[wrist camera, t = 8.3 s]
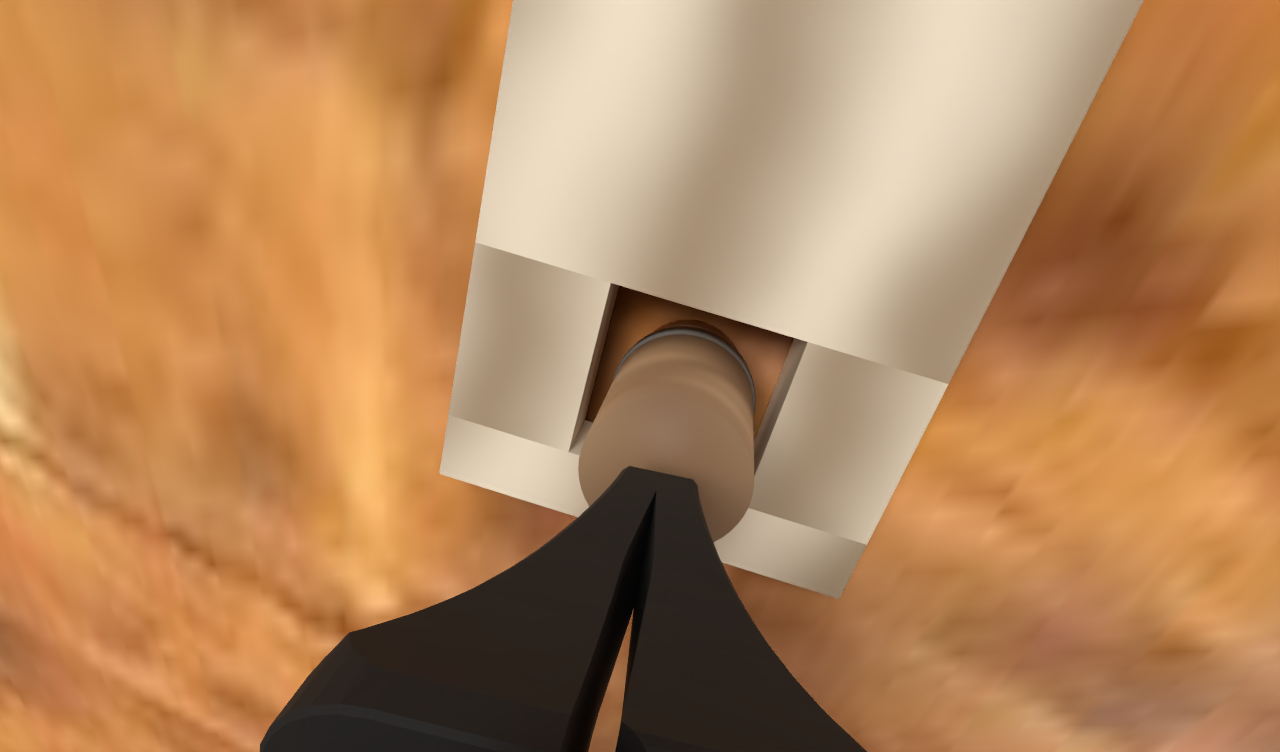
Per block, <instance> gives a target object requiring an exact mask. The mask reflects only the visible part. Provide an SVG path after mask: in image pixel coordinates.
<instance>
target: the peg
mask: <svg viewBox="0 0 1280 752" xmlns="http://www.w3.org/2000/svg"><path fill="white" fill-rule="evenodd" d="M754 408H755V391H754V384H753V380H752V376H751V374H750V371H749V369H748V367H747V364H746V363H745V361H744V359H743V357H742V356H741V355H740V353H739V352H738V351H737V349H736V347H735V345H734V344H733V342H732V341H731V340H730V339H729V337H728V336H727V335H726V334H725V333H723V332H722V331H721V330H719V329H718V328H716V327H714V326H713V325H710V324H708V323H705V322H701V321H696V320H679V321H674V322H670V323H668V324H665V325H663V326H661V327H660V328H658V329H657V330H655V331H654V332H653V333H651V334H649V335H647V336H645V337H644V338H643V339H641V340H640V341H638V342H637V343H636V344H635V345H634V346H633V347H632V348H631V349H630V350H629V351H628V352H627V353H626V355H625V356H624V357H623V359H622V361H621V362H620V364H619V366H618V368H617V370H616V373H615V375H614V378H613V382H612V385H611V387H610V389H609V391H608V393H607V395H606V397H605V399H604V401H603V403H602V406H601V408H600V410H599V412H598V414H597V416H596V418H595V420H594V422H593V424H592V426H591V428H590V430H589V432H588V434H587V436H586V439H585V441H584V443H583V446H582V448H581V452H580V456H579V465H578V473H579V481H580V486H581V490H582V492H583V495H584V498H585V500H586V502H587V503H588V505H589V507H590V506H591V505H592V504H593V503H594V502H595V501H596V500H597V499H598V498H599V497H600V496H601V495H602V494H603V493H604V492H605V490H606V489H607V488H608V487H609V486H610V485H611V484H612V483H613V482H614V480H615V479H616V478H617V477H618V475H619V474H620V473H621V471H622V470H623V469H625V468H626V467H628V466H633V467H638V468H642V469H647V470H652V471H656V472H661V473H666V474H670V475H675V476H680V477H685V478H689V479H693V480H694V481H695V483H696V484H697V486H698V492H699V498H700V503H701V506H702V510H703V514H704V517H705V520H706V523H707V526H708V529H709V532H710V535H711V537H712V540H713V543H714V542H715V541H717V540H719V539H721V538H722V537H724V536H725V535H726V534H728V533H729V532H730V531H731V530H732V529H733V528H734V527H735V526H736V525H737V524H738V523H739V522H740V521H741V519H742V518H743V517H744V515H745V513H746V511H747V509H748V507H749V505H750V502H751V499H752V495H753V490H754V430H753V414H754Z"/></svg>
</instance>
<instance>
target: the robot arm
mask: <svg viewBox="0 0 1280 752" xmlns="http://www.w3.org/2000/svg"><path fill="white" fill-rule="evenodd" d="M633 608H634V611H633ZM632 611H633V620H632V629H631V638H630V647H629V656H628V665H627V674H626V683H625V692H624V701H623V710H622V718H621V725H620V731H619V736H618V741H617V746H616V751H615V752H867V751H866V750H865V749H864V748H862V747H861V746H860V745H859V744H858V743H857V742H856V741H855V740H854V739H853V738H852V737H851V736H850V735H849V734H848V733H847V732H846V731H845V730H843V729H842V728H841V727H840V726H839V725H838V724H837V723H836V722H835V721H834V720H833V719H832V718H831V717H830V716H829V715H828V714H827V713H826V712H825V711H824V710H823V709H822V708H821V707H820V706H819V705H818V704H817V703H816V702H815V700H814V699H813V698H812V697H811V696H810V695H809V694H808V693H807V692H806V691H805V689H804V688H803V687H802V686H801V685H800V684H799V683H798V682H797V681H796V679H795V678H794V677H793V676H792V674H791V673H790V672H789V671H788V669H787V668H786V667H785V665H784V664H783V663H782V662H781V660H780V659H779V658H778V656H777V655H776V654H775V653H774V651H773V650H772V649H771V647H770V646H769V645H768V643H767V642H766V640H765V639H764V637H763V636H762V634H761V633H760V631H759V630H758V628H757V627H756V625H755V624H754V622H753V621H752V619H751V617H750V616H749V614H748V612H747V611H746V609H745V607H744V606H743V604H742V602H741V600H740V599H739V597H738V595H737V593H736V591H735V589H734V587H733V585H732V583H731V581H730V579H729V577H728V575H727V573H726V571H725V569H724V567H723V564H722V562H721V560H720V558H719V555H718V553H717V550H716V548H715V545H714V543H713V540H712V537H711V535H710V532H709V529H708V526H707V523H706V520H705V517H704V514H703V510H702V506H701V503H700V498H699V492H698V486H697V484H696V483H695V481H694V480H693V479H689V478H685V477H680V476H675V475H670V474H666V473H661V472H656V471H652V470H647V469H642V468H638V467H633V466H628V467H626V468H625V469H623V470H622V471H621V473H620V474H619V475H618V477H617V478H616V479H615V480H614V482H613V483H612V484H611V485H610V486H609V487H608V488H607V489H606V490H605V492H604V493H603V494H602V495H601V496H600V497H599V498H598V499H597V500H596V501H595V502H594V503H593V504H592V505H591V506H590V507H588V508H587V509H586V510H585V511H584V512H583V513H582V514H581V515H580V516H579V517H578V518H577V519H576V520H575V521H573V522H572V523H571V524H570V525H568V526H567V527H566V528H565V529H564V530H562V531H561V532H560V533H559V534H557V535H556V536H555V537H554V538H553V539H551V540H550V541H549V542H547V543H546V544H545V545H543V546H542V547H541V548H539V549H538V550H536V551H535V552H534V553H532V554H531V555H529V556H528V557H526V558H525V559H523V560H522V561H520V562H518V563H517V564H515V565H514V566H512V567H511V568H509V569H507V570H505V571H504V572H502V573H500V574H498V575H497V576H495V577H493V578H491V579H490V580H488V581H486V582H484V583H482V584H480V585H478V586H477V587H475V588H473V589H471V590H469V591H466V592H464V593H462V594H460V595H457V596H455V597H453V598H451V599H448V600H446V601H443V602H441V603H438V604H436V605H433V606H431V607H428V608H426V609H423V610H420V611H418V612H415V613H412V614H409V615H406V616H403V617H400V618H397V619H393V620H390V621H387V622H384V623H381V624H377V625H374V626H371V627H368V628H364V629H361V630H357V631H354V632H350V633H348V634H347V635H346V636H345V637H344V638H343V639H342V641H341V642H340V643H339V644H338V645H337V646H336V647H335V648H334V649H333V650H332V651H331V652H330V653H329V654H328V655H327V656H326V657H325V658H324V659H323V660H322V661H321V662H320V664H319V665H318V666H317V667H316V668H315V669H314V670H313V671H312V672H311V674H310V675H309V676H308V677H307V678H306V680H305V681H304V682H303V684H302V685H301V686H300V688H299V689H298V690H297V692H296V693H295V694H294V695H293V697H292V698H291V699H290V701H289V702H288V703H287V705H286V706H285V707H284V709H283V710H282V711H281V713H280V714H279V715H278V717H277V718H276V719H275V720H274V722H273V723H272V724H271V726H270V727H269V729H268V731H267V733H266V735H265V736H264V738H263V740H262V742H261V744H260V752H588V750H589V746H590V742H591V738H592V734H593V730H594V727H595V723H596V720H597V717H598V713H599V710H600V707H601V704H602V701H603V698H604V695H605V692H606V689H607V686H608V683H609V680H610V677H611V674H612V671H613V668H614V665H615V662H616V659H617V656H618V653H619V650H620V647H621V644H622V641H623V638H624V635H625V632H626V629H627V626H628V623H629V620H630V617H631V614H632Z"/></svg>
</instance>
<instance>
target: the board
mask: <svg viewBox="0 0 1280 752" xmlns="http://www.w3.org/2000/svg"><path fill="white" fill-rule="evenodd" d="M1143 1H1144V0H513V4H512V11H511V17H510V24H509V30H508V36H507V43H506V49H505V56H504V62H503V68H502V75H501V81H500V88H499V94H498V101H497V107H496V113H495V120H494V126H493V133H492V139H491V145H490V152H489V158H488V165H487V171H486V177H485V184H484V190H483V197H482V203H481V210H480V216H479V222H478V229H477V235H476V242H475V248H474V254H473V261H472V267H471V274H470V280H469V287H468V293H467V299H466V306H465V312H464V319H463V325H462V331H461V338H460V344H459V351H458V357H457V363H456V370H455V376H454V383H453V389H452V396H451V402H450V408H449V415H448V421H447V428H446V434H445V440H444V447H443V453H442V460H441V466H440V472H439V474H442V475H445V476H448V477H451V478H455V479H458V480H461V481H464V482H467V483H470V484H474V485H477V486H480V487H483V488H486V489H490V490H493V491H496V492H499V493H502V494H506V495H509V496H512V497H515V498H518V499H521V500H525V501H528V502H531V503H534V504H537V505H541V506H544V507H547V508H550V509H553V510H557V511H560V512H563V513H566V514H569V515H572V516H576V517H579V516H580V515H581V514H582V513H583V512H584V511H585V510H586V509H587V508H588V507H589V505H588V503H587V502H586V500H585V498H584V495H583V492H582V490H581V486H580V481H579V473H578V465H579V456H580V452H581V448H582V446H583V443H584V441H585V439H586V436H587V434H588V432H589V430H590V428H591V426H592V424H593V422H590V421H587V420H585V418H586V414H587V410H588V406H589V402H590V398H591V394H592V390H593V386H594V383H595V379H596V375H597V371H598V367H599V363H600V359H601V355H602V351H603V347H604V344H605V340H606V336H607V332H608V328H609V324H610V320H611V316H612V312H613V308H614V304H615V301H616V297H617V293H618V289H619V285H620V286H623V287H626V288H630V289H633V290H636V291H640V292H643V293H646V294H650V295H653V296H656V297H660V298H663V299H666V300H670V301H673V302H676V303H680V304H683V305H686V306H690V307H693V308H696V309H700V310H703V311H706V312H710V313H713V314H716V315H720V316H723V317H726V318H730V319H733V320H736V321H740V322H743V323H746V324H750V325H753V326H756V327H760V328H763V329H766V330H770V331H773V332H776V333H780V334H783V335H786V336H790V337H793V338H794V339H793V342H792V344H791V347H790V349H789V352H788V355H787V357H786V360H785V362H784V365H783V368H782V370H781V373H780V375H779V378H778V380H777V383H776V386H775V388H774V391H773V393H772V396H771V399H770V401H769V404H768V406H767V409H766V412H765V414H764V417H763V419H762V422H761V425H760V427H759V430H758V432H757V435H756V438H755V440H754V490H753V495H752V499H751V502H750V505H749V507H748V509H747V511H746V513H745V515H744V517H743V518H742V519H741V521H740V522H739V523H738V524H737V525H736V526H735V527H734V528H733V529H732V530H731V531H730V532H729V533H728V534H726V535H725V536H724V537H722V538H721V539H719V540H717V541H715V542H714V545H715V548H716V550H717V553H718V555H719V558H720V560H721V562H722V563H725V564H729V565H732V566H735V567H738V568H741V569H745V570H748V571H751V572H754V573H757V574H760V575H764V576H767V577H770V578H773V579H776V580H780V581H783V582H786V583H789V584H792V585H796V586H799V587H802V588H805V589H808V590H811V591H815V592H818V593H821V594H824V595H827V596H831V597H834V598H837V599H840V597H841V595H842V593H843V591H844V589H845V587H846V585H847V583H848V581H849V579H850V577H851V575H852V573H853V571H854V569H855V567H856V565H857V563H858V561H859V559H860V557H861V555H862V553H863V551H864V549H865V547H866V546H867V544H868V542H869V540H870V538H871V536H872V534H873V532H874V530H875V528H876V526H877V524H878V522H879V520H880V518H881V516H882V514H883V512H884V510H885V508H886V506H887V504H888V502H889V500H890V498H891V496H892V494H893V492H894V490H895V488H896V486H897V485H898V483H899V481H900V479H901V477H902V475H903V473H904V471H905V469H906V467H907V465H908V463H909V461H910V459H911V457H912V455H913V453H914V451H915V449H916V447H917V445H918V443H919V441H920V439H921V437H922V435H923V433H924V431H925V429H926V427H927V426H928V424H929V422H930V420H931V418H932V416H933V414H934V412H935V410H936V408H937V406H938V404H939V402H940V400H941V398H942V396H943V394H944V392H945V390H946V388H947V386H948V384H949V382H950V380H951V378H952V376H953V374H954V372H955V370H956V368H957V367H958V365H959V363H960V361H961V359H962V357H963V355H964V353H965V351H966V349H967V347H968V345H969V343H970V341H971V339H972V337H973V335H974V333H975V331H976V329H977V327H978V325H979V323H980V321H981V319H982V317H983V315H984V313H985V311H986V309H987V308H988V306H989V304H990V302H991V300H992V298H993V296H994V294H995V292H996V290H997V288H998V286H999V284H1000V282H1001V280H1002V278H1003V276H1004V274H1005V272H1006V270H1007V268H1008V266H1009V264H1010V262H1011V260H1012V258H1013V256H1014V254H1015V252H1016V250H1017V248H1018V247H1019V245H1020V243H1021V241H1022V239H1023V237H1024V235H1025V233H1026V231H1027V229H1028V227H1029V225H1030V223H1031V221H1032V219H1033V217H1034V215H1035V213H1036V211H1037V209H1038V207H1039V205H1040V203H1041V201H1042V199H1043V197H1044V195H1045V193H1046V191H1047V189H1048V188H1049V186H1050V184H1051V182H1052V180H1053V178H1054V176H1055V174H1056V172H1057V170H1058V168H1059V166H1060V164H1061V162H1062V160H1063V158H1064V156H1065V154H1066V152H1067V150H1068V148H1069V146H1070V144H1071V142H1072V140H1073V138H1074V136H1075V134H1076V132H1077V130H1078V129H1079V127H1080V125H1081V123H1082V121H1083V119H1084V117H1085V115H1086V113H1087V111H1088V109H1089V107H1090V105H1091V103H1092V101H1093V99H1094V97H1095V95H1096V93H1097V91H1098V89H1099V87H1100V85H1101V83H1102V81H1103V79H1104V77H1105V75H1106V73H1107V71H1108V70H1109V68H1110V66H1111V64H1112V62H1113V60H1114V58H1115V56H1116V54H1117V52H1118V50H1119V48H1120V46H1121V44H1122V42H1123V40H1124V38H1125V36H1126V34H1127V32H1128V30H1129V28H1130V26H1131V24H1132V22H1133V20H1134V18H1135V16H1136V14H1137V12H1138V10H1139V9H1140V7H1141V5H1142V3H1143Z"/></svg>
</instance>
